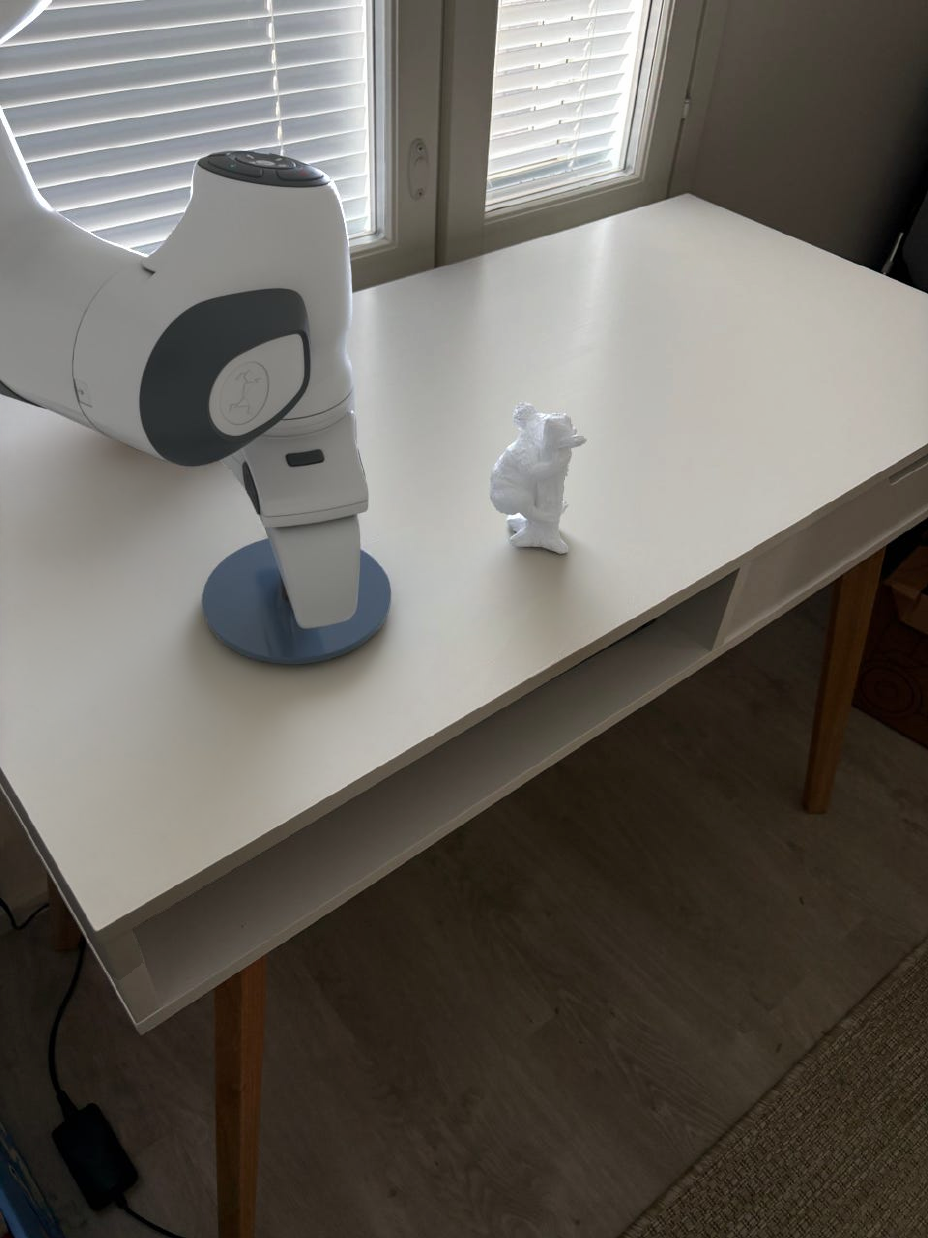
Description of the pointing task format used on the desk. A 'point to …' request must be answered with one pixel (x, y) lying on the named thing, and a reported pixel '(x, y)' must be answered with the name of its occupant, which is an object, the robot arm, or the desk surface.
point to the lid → (285, 610)
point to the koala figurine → (535, 477)
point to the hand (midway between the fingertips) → (296, 586)
